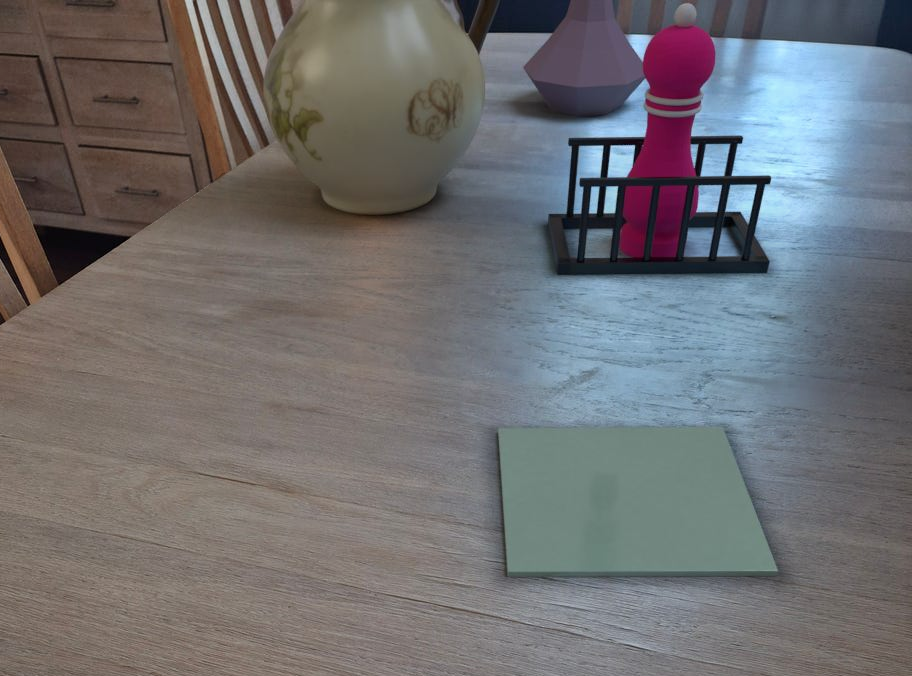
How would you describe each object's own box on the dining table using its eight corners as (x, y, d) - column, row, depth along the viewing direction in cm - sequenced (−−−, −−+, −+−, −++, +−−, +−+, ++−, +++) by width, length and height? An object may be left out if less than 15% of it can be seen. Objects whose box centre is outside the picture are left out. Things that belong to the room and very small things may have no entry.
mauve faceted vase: (593, 83, 134) (609, -96, 120) (672, 111, 123) (699, -81, 110) (496, 102, 128) (501, -84, 114) (570, 133, 117) (585, -66, 104)
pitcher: (243, 223, 98) (198, -78, 81) (322, 151, 114) (299, -113, 97) (453, 243, 93) (453, -72, 76) (504, 165, 110) (514, -110, 92)
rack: (738, 223, 96) (756, 134, 90) (766, 274, 87) (789, 178, 81) (547, 225, 96) (553, 136, 91) (557, 276, 88) (564, 181, 82)
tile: (721, 432, 68) (722, 426, 68) (776, 577, 57) (778, 570, 56) (497, 434, 68) (498, 427, 68) (507, 578, 57) (507, 571, 57)
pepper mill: (606, 258, 90) (634, 10, 76) (622, 230, 95) (651, -8, 81) (683, 268, 88) (726, 15, 74) (695, 239, 93) (737, -4, 79)
